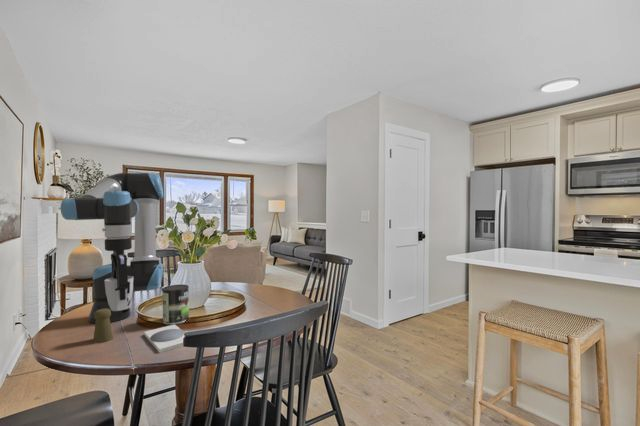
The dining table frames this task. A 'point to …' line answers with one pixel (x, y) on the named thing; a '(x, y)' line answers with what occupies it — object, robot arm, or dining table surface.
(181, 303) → the coffee can
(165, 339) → the board
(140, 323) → the dining table surface
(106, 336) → the olive peg figure
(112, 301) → the cup
